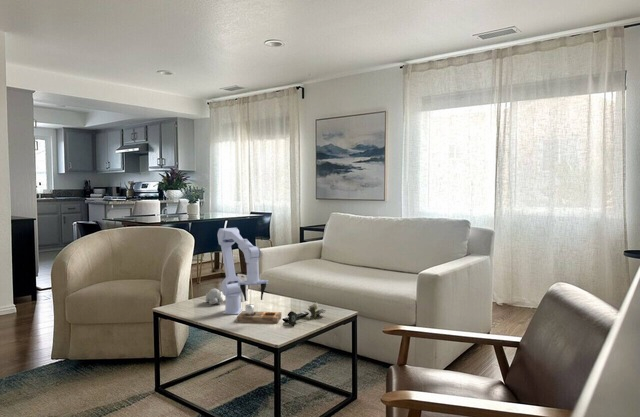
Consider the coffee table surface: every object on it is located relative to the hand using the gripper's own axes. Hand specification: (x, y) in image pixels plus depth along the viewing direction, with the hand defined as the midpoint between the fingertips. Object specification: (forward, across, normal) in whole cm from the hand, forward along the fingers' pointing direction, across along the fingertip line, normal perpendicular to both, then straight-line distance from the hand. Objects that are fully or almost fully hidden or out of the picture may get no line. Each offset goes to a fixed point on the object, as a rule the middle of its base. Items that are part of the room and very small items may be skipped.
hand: (253, 299), depth 219 cm
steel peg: (+11, -2, +5) cm, 12 cm away
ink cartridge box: (+9, -9, +44) cm, 45 cm away
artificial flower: (+12, +25, +2) cm, 28 cm away
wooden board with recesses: (+11, +2, +4) cm, 12 cm away
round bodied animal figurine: (+9, -24, +38) cm, 45 cm away
